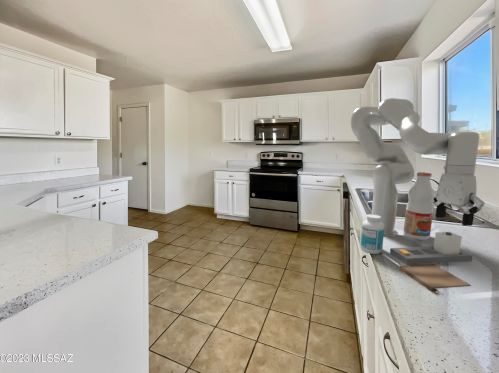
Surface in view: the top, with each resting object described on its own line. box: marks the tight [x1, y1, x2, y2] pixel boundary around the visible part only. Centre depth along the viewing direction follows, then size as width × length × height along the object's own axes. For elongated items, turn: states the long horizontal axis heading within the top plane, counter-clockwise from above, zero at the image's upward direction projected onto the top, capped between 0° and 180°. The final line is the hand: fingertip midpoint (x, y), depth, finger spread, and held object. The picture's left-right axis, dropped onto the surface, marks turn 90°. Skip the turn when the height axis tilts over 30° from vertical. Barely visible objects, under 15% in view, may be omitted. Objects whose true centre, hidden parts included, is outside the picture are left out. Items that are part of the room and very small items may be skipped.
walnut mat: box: [399, 263, 471, 292], centre depth 74 cm, size 12×12×1 cm
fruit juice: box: [402, 171, 435, 241], centre depth 103 cm, size 9×9×28 cm
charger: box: [433, 231, 463, 255], centre depth 85 cm, size 4×6×9 cm
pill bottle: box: [359, 214, 385, 255], centre depth 91 cm, size 8×7×14 cm
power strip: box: [389, 245, 474, 265], centre depth 85 cm, size 8×24×4 cm, turn 96°
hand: (452, 221), depth 83 cm, fingers open, 9 cm apart
